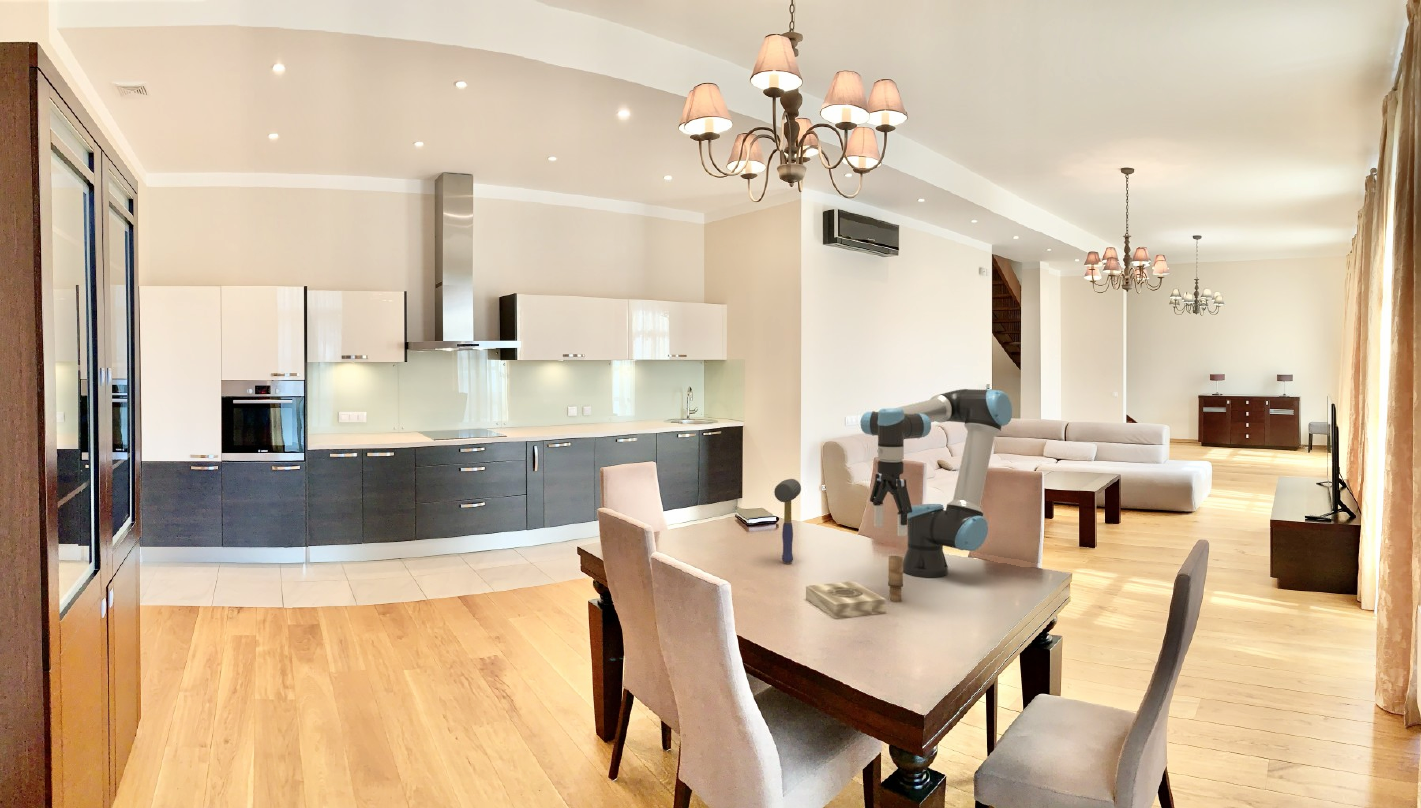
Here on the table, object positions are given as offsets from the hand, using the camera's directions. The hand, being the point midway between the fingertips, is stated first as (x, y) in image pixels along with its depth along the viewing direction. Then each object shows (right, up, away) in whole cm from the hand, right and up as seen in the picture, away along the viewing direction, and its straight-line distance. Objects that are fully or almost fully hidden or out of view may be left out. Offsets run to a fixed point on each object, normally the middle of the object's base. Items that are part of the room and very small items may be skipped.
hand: (890, 531), depth 228 cm
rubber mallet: (-26, -19, +44) cm, 55 cm away
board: (-14, -21, -5) cm, 26 cm away
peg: (+2, -21, +1) cm, 21 cm away
